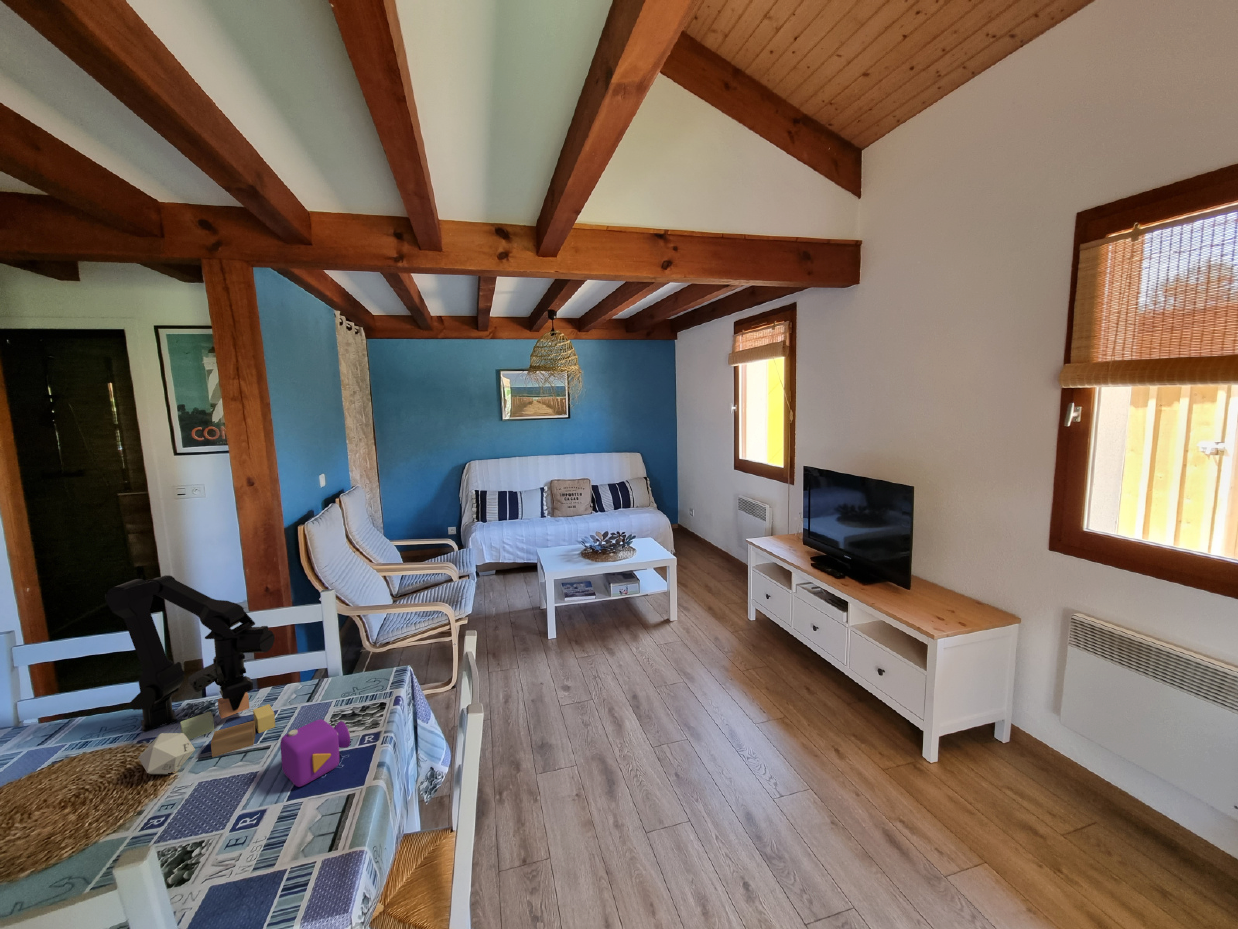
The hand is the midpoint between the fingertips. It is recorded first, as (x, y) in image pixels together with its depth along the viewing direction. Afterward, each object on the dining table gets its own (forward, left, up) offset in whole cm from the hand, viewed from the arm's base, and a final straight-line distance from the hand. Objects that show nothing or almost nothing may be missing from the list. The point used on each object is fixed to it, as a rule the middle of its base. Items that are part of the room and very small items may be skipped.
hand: (233, 707), depth 129 cm
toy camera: (+37, +10, -4) cm, 38 cm away
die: (+12, -14, -4) cm, 19 cm away
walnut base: (+13, -2, -4) cm, 14 cm away
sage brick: (0, -8, -4) cm, 8 cm away
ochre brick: (+9, +5, -4) cm, 11 cm away
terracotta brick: (0, 0, -1) cm, 1 cm away
